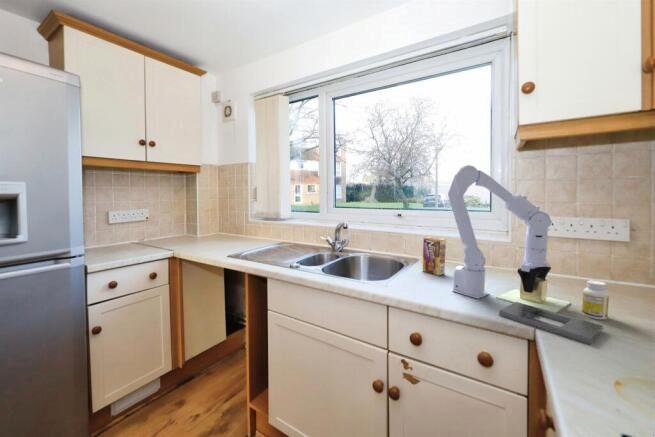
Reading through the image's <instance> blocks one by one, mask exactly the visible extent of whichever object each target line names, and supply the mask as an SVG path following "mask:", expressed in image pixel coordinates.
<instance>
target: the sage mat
mask: <svg viewBox="0 0 655 437" xmlns="http://www.w3.org/2000/svg"><path fill="white" fill-rule="evenodd" d="M496 299H498V300H502V301H505V302H509V303H511V304H513V303H515V302H519V303H522V304H526V305H530V306H533V307H537V308H541V309H544V310H548V311H551V312H555V313H559V312H560V311H561V310H563V309H564V308H567V307H568V306H570V305H571V304H572V303H571V302H570V301H567V300H561V299H558V298H554V297H551V296H546V301H545V302H544V303H542V304H539V303H536V302H532V301H528V300H524V299H521V298H520V289H518V288H517V289H516V288H514V289H512V290H511V289H510V291H509V290H508V291H507V292H504V293H502V294H501V295H498V296H496Z"/></svg>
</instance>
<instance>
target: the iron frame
mask: <svg viewBox="0 0 655 437" xmlns="http://www.w3.org/2000/svg"><path fill="white" fill-rule="evenodd" d="M498 311H499V312H498V316H500V317H503V318H506V319H510V320H512V321H515V322H518V323H522V324H525V325H528V326H531V327H534V328H537V329H541V330H543V331H546V332H549V333H552V334H555V335H559V336H561V337H565V338H569V339H570V340H573V341H574V340H575V341H578V342H580V343H583V344H586V345H589V346H590V345H591V344H592V343H593V342H594V341H595V340H596V339H598V337H599V336H600V335H602V333H603V332H604V325H603V324H598V323H594V322H591V321H589V320H587V321H586V320H583V319H580V318H576V317H572V316H569V315H565V314H562V313H559V312H557V313H555V312H551V311H548V310H544V309H541V308H537V307H533V306H530V305H526V304H522V303H519V302H515V303H510V304H509V305H507V306H505V307H502V308H501V309H499V310H498ZM536 315H537V316H540V317H544V318H546V319H551V320H554V321H558V322H560V323H563V325H560V326H559V325H556V324H553V323H549V322H547V321H544V320H540V319H536V318H533V317H535V316H536Z"/></svg>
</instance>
